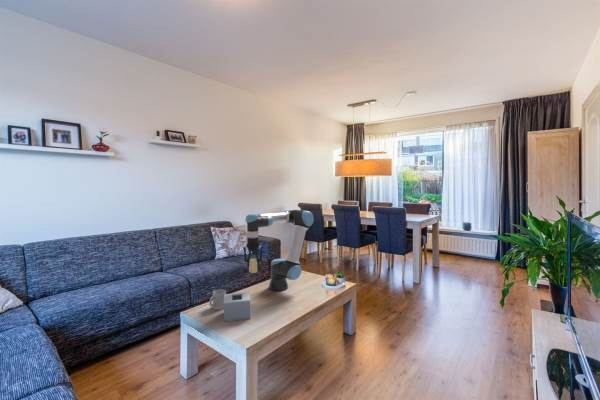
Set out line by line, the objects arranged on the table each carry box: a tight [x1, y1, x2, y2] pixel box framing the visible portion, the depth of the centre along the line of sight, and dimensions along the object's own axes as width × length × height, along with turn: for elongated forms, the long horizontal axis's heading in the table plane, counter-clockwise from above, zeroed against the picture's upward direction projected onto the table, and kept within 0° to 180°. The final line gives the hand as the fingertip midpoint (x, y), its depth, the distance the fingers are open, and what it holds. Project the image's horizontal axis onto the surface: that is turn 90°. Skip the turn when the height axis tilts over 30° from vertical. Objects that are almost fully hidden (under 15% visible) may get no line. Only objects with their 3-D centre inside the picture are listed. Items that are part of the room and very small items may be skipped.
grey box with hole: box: [223, 291, 252, 322], centre depth 186 cm, size 16×13×12 cm
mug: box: [209, 288, 227, 311], centre depth 197 cm, size 12×8×11 cm
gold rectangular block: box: [249, 258, 258, 274], centre depth 200 cm, size 4×6×8 cm, turn 13°
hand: (253, 271), depth 200 cm, fingers closed on gold rectangular block, 4 cm apart
